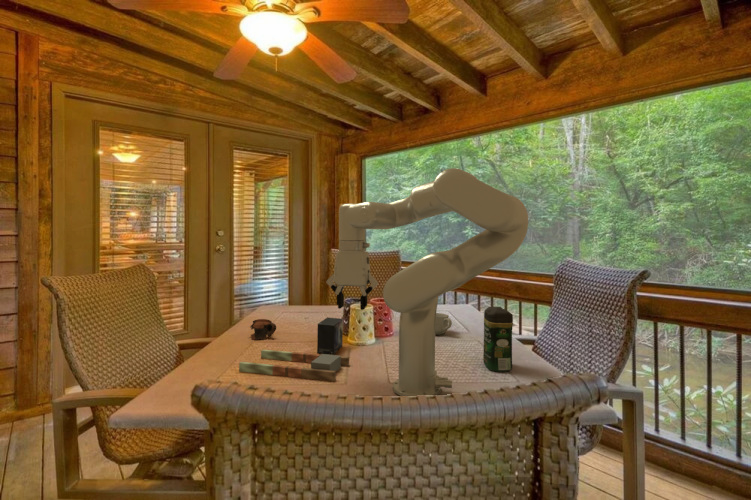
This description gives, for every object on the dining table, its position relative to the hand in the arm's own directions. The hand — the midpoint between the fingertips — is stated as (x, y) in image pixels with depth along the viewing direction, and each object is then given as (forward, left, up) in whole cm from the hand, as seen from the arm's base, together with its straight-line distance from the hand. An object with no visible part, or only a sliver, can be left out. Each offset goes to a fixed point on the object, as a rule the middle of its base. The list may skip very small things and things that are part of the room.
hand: (351, 307), depth 110 cm
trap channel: (+18, 0, -20) cm, 27 cm away
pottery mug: (+45, -28, -20) cm, 57 cm away
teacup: (-21, -51, -20) cm, 58 cm away
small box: (+14, -20, -20) cm, 31 cm away
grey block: (+8, 0, -20) cm, 21 cm away
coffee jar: (-42, -17, -20) cm, 49 cm away
